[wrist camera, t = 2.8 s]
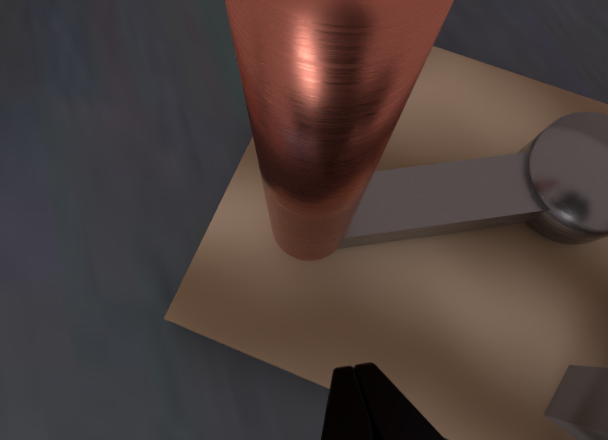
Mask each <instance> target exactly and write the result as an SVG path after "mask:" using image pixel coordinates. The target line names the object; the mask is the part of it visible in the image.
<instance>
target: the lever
mask: <svg viewBox="0 0 608 440" xmlns="http://www.w3.org/2000/svg"><path fill="white" fill-rule="evenodd" d="M453 1H454V0H225V2H226V7H227V12H228V17H229V22H230V26H231V31H232V36H233V41H234V46H235V51H236V56H237V61H238V66H239V71H240V75H241V80H242V85H243V90H244V95H245V100H246V105H247V110H248V115H249V120H250V124H251V129H252V134H253V139H254V144H255V149H256V154H257V159H258V164H259V169H260V174H261V178H262V183H263V188H264V193H265V198H266V203H267V208H268V213H269V218H270V223H271V227H272V232H273V236H274V238H275V240H276V242H277V244H278V245H279V247H280V248H281V249H282V250H283V251H284V252H285V253H287V254H288V255H290V256H292V257H294V258H296V259H299V260H304V261H314V260H319V259H322V258H325V257H327V256H329V255H330V254H332V253H333V252H334V251H335V250H337V249H342V248H349V247H356V246H363V245H371V244H378V243H385V242H392V241H399V240H406V239H414V238H421V237H428V236H435V235H442V234H450V233H457V232H464V231H471V230H478V229H485V228H493V227H500V226H507V225H514V224H521V223H526V224H527V225H528V226H529V227H530V228H531V229H532V230H534V231H535V232H536V233H538V234H540V235H541V236H543V237H545V238H547V239H550V240H552V241H555V242H558V243H563V244H571V245H578V244H586V243H590V242H593V241H596V240H599V239H602V238H605V237H608V115H606V114H602V113H596V112H577V113H572V114H568V115H565V116H563V117H561V118H559V119H557V120H556V121H554V122H553V123H551V124H550V125H549V126H548V127H547V128H546V129H544V130H543V131H542V132H541V133H540V134H539V135H537V136H536V137H535V138H534V139H533V140H532V141H530V142H529V143H528V144H527V145H526V146H525V147H523V148H522V149H521V150H520V151H519V152H518V153H515V154H507V155H500V156H492V157H484V158H476V159H468V160H461V161H453V162H445V163H437V164H429V165H422V166H414V167H406V168H398V169H390V170H383V171H375V170H376V168H377V165H378V163H379V161H380V159H381V157H382V155H383V152H384V150H385V148H386V146H387V144H388V142H389V139H390V137H391V135H392V133H393V131H394V129H395V126H396V124H397V122H398V120H399V118H400V116H401V113H402V111H403V109H404V107H405V105H406V103H407V101H408V98H409V96H410V94H411V92H412V90H413V88H414V85H415V83H416V81H417V79H418V77H419V75H420V72H421V70H422V68H423V66H424V64H425V62H426V59H427V57H428V55H429V53H430V51H431V49H432V46H433V44H434V42H435V40H436V38H437V36H438V33H439V31H440V29H441V27H442V25H443V23H444V20H445V18H446V16H447V14H448V12H449V10H450V7H451V5H452V3H453Z"/></svg>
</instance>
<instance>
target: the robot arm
mask: <svg viewBox="0 0 608 440" xmlns="http://www.w3.org/2000/svg"><path fill="white" fill-rule="evenodd" d="M321 440H446V439H445V438H444V437H443V436H442V435H441V434H440V433H439V432H438V431H437V430H436V429H435V428H434V427H433V426H432V424H431V423H430V422H429V421H428V420H427V419H426V418H425V417H424V416H423V415H422V414H421V413H420V412H419V410H418V409H417V408H416V407H415V406H414V405H413V404H412V403H411V402H410V401H409V400H408V399H407V398H406V396H405V395H404V394H403V393H402V392H401V391H400V390H399V389H398V388H397V387H396V386H395V385H394V384H393V382H392V381H391V380H390V379H389V378H388V377H387V376H386V375H385V374H384V373H383V372H382V371H381V370H380V369H379V367H378V366H377V365H376V364H374V363H372V362H368V363H361V364H356V365H355V366H354V368H353V366H350V365H349V366H342V367H336V368H334V370H333V373H332V378H331V384H330V390H329V396H328V402H327V407H326V413H325V419H324V425H323V431H322V436H321Z"/></svg>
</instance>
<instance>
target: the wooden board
mask: <svg viewBox="0 0 608 440" xmlns="http://www.w3.org/2000/svg"><path fill="white" fill-rule="evenodd" d="M577 112H596V113H602V114H606V115H608V104H605V103H602V102H599V101H596V100H593V99H590V98H587V97H584V96H581V95H578V94H575V93H572V92H569V91H566V90H563V89H560V88H557V87H554V86H551V85H548V84H545V83H542V82H539V81H536V80H534V79H531V78H528V77H525V76H522V75H519V74H516V73H513V72H510V71H507V70H504V69H501V68H498V67H495V66H492V65H489V64H486V63H483V62H480V61H477V60H474V59H471V58H468V57H465V56H462V55H459V54H456V53H453V52H450V51H447V50H444V49H441V48H438V47H435V46H432V49H431V51H430V53H429V55H428V57H427V59H426V62H425V64H424V66H423V68H422V70H421V72H420V75H419V77H418V79H417V81H416V83H415V85H414V88H413V90H412V92H411V94H410V96H409V98H408V101H407V103H406V105H405V107H404V109H403V111H402V113H401V116H400V118H399V120H398V122H397V124H396V126H395V129H394V131H393V133H392V135H391V137H390V139H389V142H388V144H387V146H386V148H385V150H384V152H383V155H382V157H381V159H380V161H379V163H378V165H377V168H376V170H375V171H383V170H390V169H398V168H406V167H414V166H422V165H429V164H437V163H445V162H453V161H461V160H468V159H476V158H484V157H492V156H500V155H507V154H515V153H518V152H519V151H520V150H521V149H522V148H523V147H525V146H526V145H527V144H528V143H529V142H530V141H532V140H533V139H534V138H535V137H536V136H537V135H539V134H540V133H541V132H542V131H543V130H544V129H546V128H547V127H548V126H549V125H550V124H551V123H553V122H554V121H556V120H557V119H559V118H561V117H563V116H565V115H568V114H572V113H577ZM164 319H165V320H168V321H170V322H173V323H175V324H177V325H180V326H182V327H184V328H187V329H189V330H191V331H194V332H196V333H199V334H201V335H203V336H206V337H208V338H210V339H213V340H215V341H217V342H220V343H222V344H224V345H227V346H229V347H232V348H234V349H236V350H239V351H241V352H243V353H246V354H248V355H250V356H253V357H255V358H258V359H260V360H262V361H265V362H267V363H269V364H272V365H274V366H276V367H279V368H281V369H284V370H286V371H288V372H291V373H293V374H295V375H298V376H300V377H302V378H305V379H307V380H309V381H312V382H314V383H317V384H319V385H321V386H324V387H326V388H328V389H330V384H331V378H332V373H333V370H334V368H336V367H342V366H349V365H350V366H353V368H354V366H355V365H356V364H361V363H368V362H372V363H374V364H376V365H377V366H378V367H379V369H380V370H381V371H382V372H383V373H384V374H385V375H386V376H387V377H388V378H389V379H390V380H391V381H392V382H393V384H394V385H395V386H396V387H397V388H398V389H399V390H400V391H401V392H402V393H403V394H404V395H405V396H406V398H407V399H408V400H409V401H410V402H411V403H412V404H413V405H414V406H415V407H416V408H417V409H418V410H419V412H420V413H421V414H422V415H423V416H424V417H425V418H426V419H427V420H428V421H429V422H430V423H431V424H432V426H433V427H434V428H435V429H436V430H437V431H438V432H439V433H440V434H441V435H442V436H443V437H444V438H446V439H449V440H608V237H605V238H602V239H599V240H596V241H593V242H590V243H586V244H578V245H571V244H563V243H558V242H555V241H552V240H550V239H547V238H545V237H543V236H541V235H540V234H538V233H536V232H535V231H534V230H532V229H531V228H530V227H529V226H528V225H527V224H526V223H521V224H514V225H507V226H500V227H493V228H485V229H478V230H471V231H464V232H457V233H450V234H442V235H435V236H428V237H421V238H414V239H406V240H399V241H392V242H385V243H378V244H371V245H363V246H356V247H349V248H342V249H337V250H335V251H334V252H333V253H332V254H330V255H329V256H327V257H325V258H322V259H319V260H314V261H304V260H299V259H296V258H294V257H292V256H290V255H288V254H287V253H285V252H284V251H283V250H282V249H281V248H280V247H279V245H278V244H277V242H276V240H275V238H274V236H273V232H272V227H271V223H270V218H269V213H268V208H267V203H266V198H265V193H264V188H263V183H262V178H261V174H260V169H259V164H258V159H257V154H256V149H255V144H254V139H253V137H252V139H251V141H250V143H249V145H248V147H247V149H246V151H245V153H244V155H243V157H242V159H241V161H240V163H239V165H238V168H237V170H236V172H235V174H234V176H233V178H232V180H231V182H230V184H229V186H228V188H227V190H226V192H225V194H224V196H223V198H222V200H221V202H220V204H219V207H218V209H217V211H216V213H215V215H214V217H213V219H212V221H211V223H210V225H209V227H208V229H207V231H206V233H205V235H204V237H203V239H202V241H201V243H200V245H199V248H198V250H197V252H196V254H195V256H194V258H193V260H192V262H191V264H190V266H189V268H188V270H187V272H186V274H185V276H184V278H183V280H182V282H181V284H180V287H179V289H178V291H177V293H176V295H175V297H174V299H173V301H172V303H171V305H170V307H169V309H168V311H167V313H166V315H165V317H164Z"/></svg>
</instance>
